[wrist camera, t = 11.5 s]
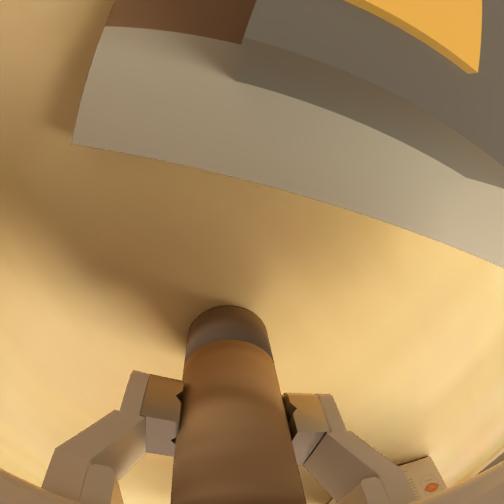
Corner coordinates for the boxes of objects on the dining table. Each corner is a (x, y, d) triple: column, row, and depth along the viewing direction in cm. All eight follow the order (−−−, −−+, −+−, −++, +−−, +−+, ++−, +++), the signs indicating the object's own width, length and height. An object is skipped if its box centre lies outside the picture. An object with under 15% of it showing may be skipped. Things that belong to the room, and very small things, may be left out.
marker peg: (182, 360, 12) (166, 525, 5) (195, 298, 11) (176, 485, 4) (255, 373, 12) (280, 530, 6) (277, 314, 11) (329, 489, 5)
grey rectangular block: (234, 80, 7) (244, 30, 3) (283, -54, 5) (315, -131, 2) (466, 177, 8) (551, 205, 5) (488, 57, 7) (565, 51, 3)
